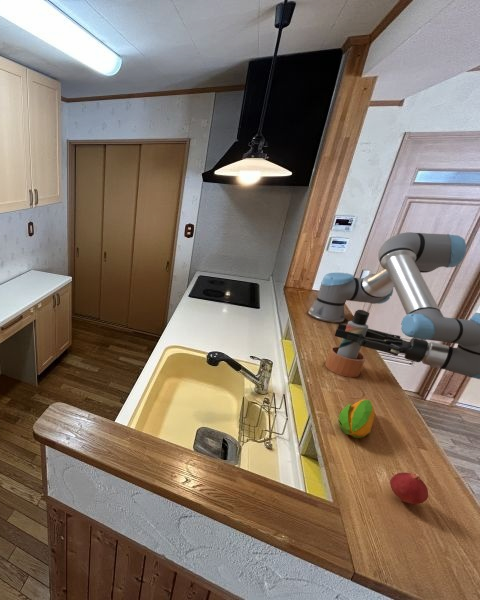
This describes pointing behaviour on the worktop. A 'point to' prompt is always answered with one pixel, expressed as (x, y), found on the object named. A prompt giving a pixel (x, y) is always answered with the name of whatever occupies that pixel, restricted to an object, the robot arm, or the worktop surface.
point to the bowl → (344, 363)
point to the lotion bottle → (358, 327)
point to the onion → (409, 488)
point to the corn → (357, 418)
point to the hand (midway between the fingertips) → (336, 329)
